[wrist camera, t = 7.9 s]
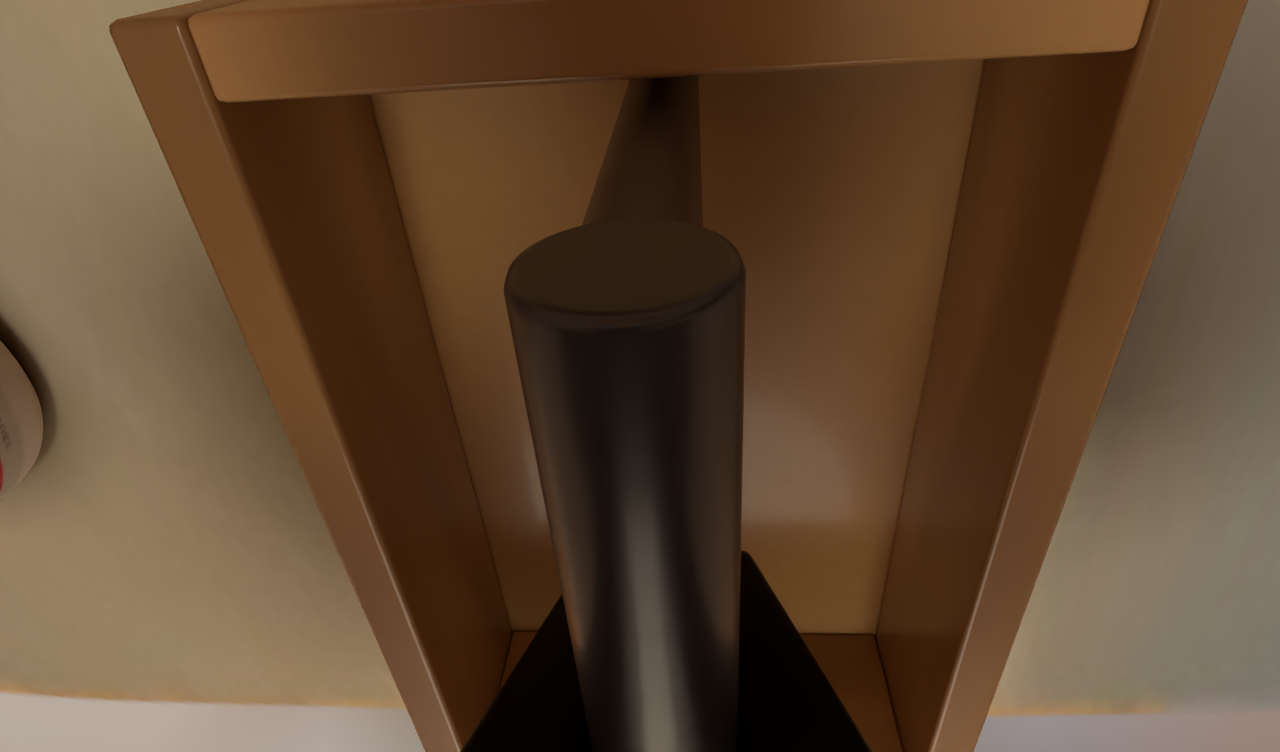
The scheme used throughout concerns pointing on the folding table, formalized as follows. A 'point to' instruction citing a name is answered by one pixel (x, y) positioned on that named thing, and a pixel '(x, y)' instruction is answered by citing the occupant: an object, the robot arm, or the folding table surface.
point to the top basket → (685, 317)
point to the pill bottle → (17, 423)
